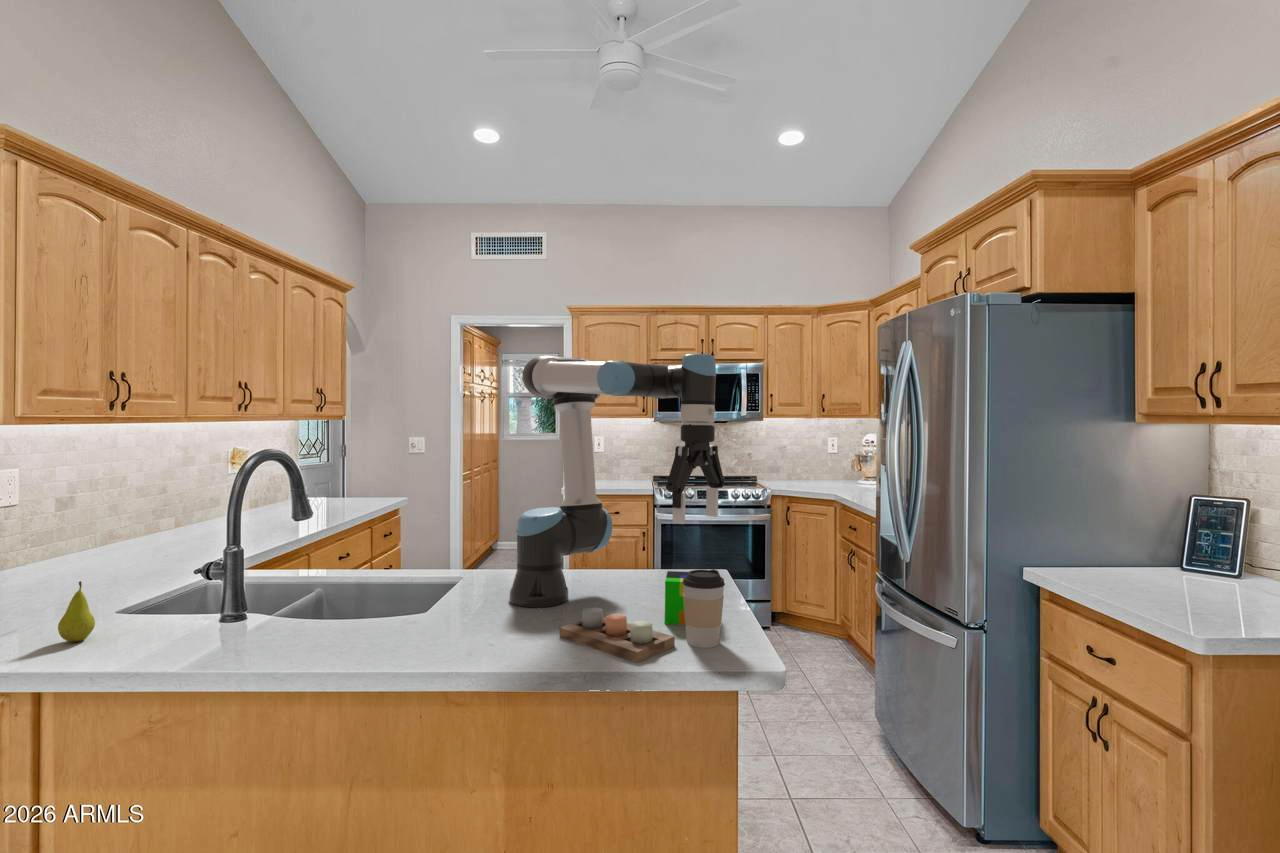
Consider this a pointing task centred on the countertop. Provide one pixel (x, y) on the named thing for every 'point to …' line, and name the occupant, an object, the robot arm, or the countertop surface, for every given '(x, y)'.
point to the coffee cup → (703, 607)
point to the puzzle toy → (674, 598)
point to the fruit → (76, 619)
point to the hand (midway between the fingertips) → (695, 519)
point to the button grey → (592, 618)
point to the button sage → (641, 632)
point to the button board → (617, 641)
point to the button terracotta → (616, 625)
